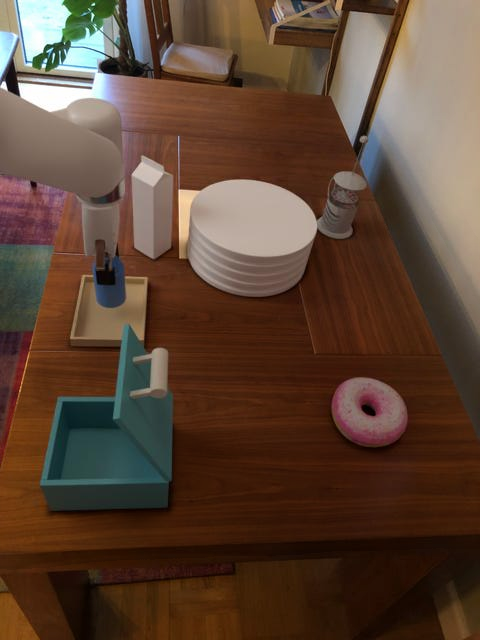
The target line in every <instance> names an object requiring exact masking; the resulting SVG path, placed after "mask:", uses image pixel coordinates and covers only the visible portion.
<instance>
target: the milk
mask: <svg viewBox="0 0 480 640" xmlns="http://www.w3.org/2000/svg"><path fill="white" fill-rule="evenodd" d="M140 157H141V161H140V163H139V164H138V166H137V167H136V168H135V170H134V171H133V172H132V173H131V194H132V195H131V197H132V221H133V222H132V223H133V246H134V249H136V250H137V251H138V252H140V253H142V254H144V255H145V256H146V257H149V258H150V259H152V260H156V259H157V258H159V257H160V256H161V255H163V254H164V253H166V252H167V251H169V250H170V249H171V248H172V234H173V233H172V230H173V202H174V201H173V200H174V198H173V197H174V175H173V174H171V173H169V172H167V171H165V167H164V165H162V164H161V163H158V162H156V161H155V160H153V159H150V158H148V157H147V156H145V155H143V154H142V155H141V156H140Z"/></svg>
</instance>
